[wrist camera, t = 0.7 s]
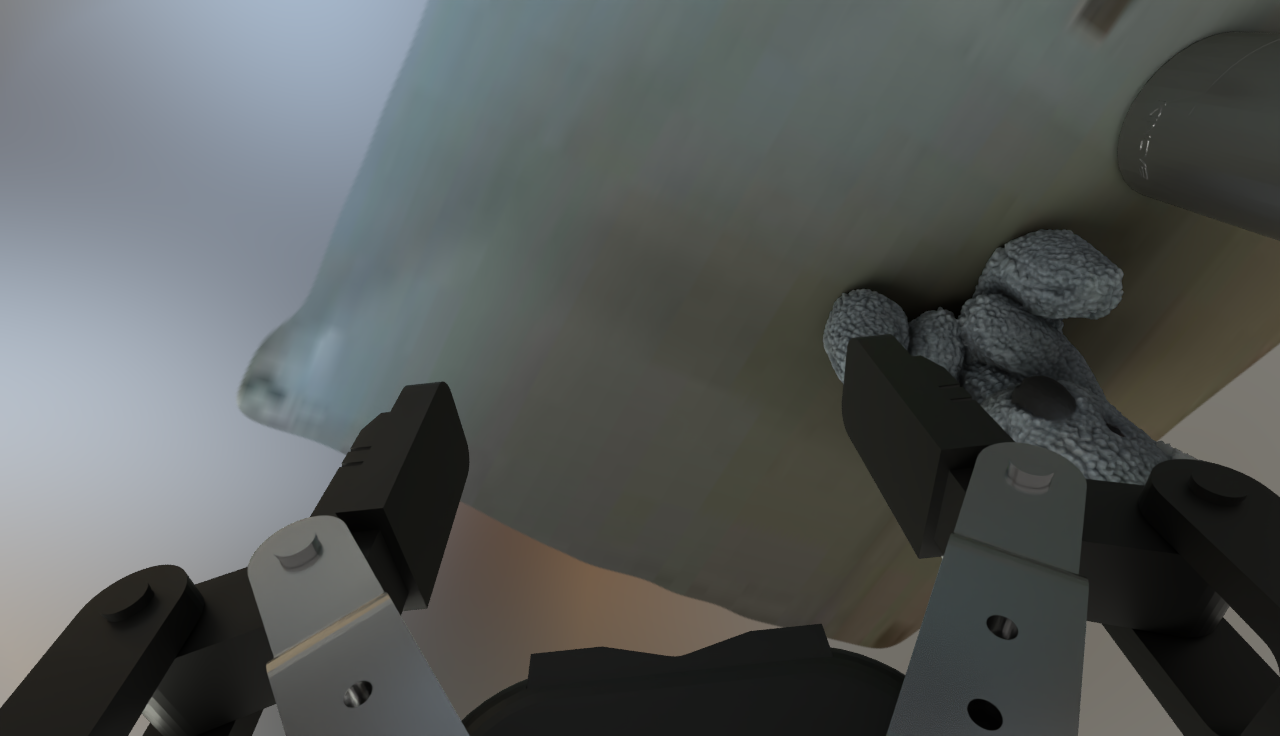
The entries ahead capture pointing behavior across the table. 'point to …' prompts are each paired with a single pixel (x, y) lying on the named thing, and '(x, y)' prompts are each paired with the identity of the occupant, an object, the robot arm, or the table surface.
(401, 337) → the table surface
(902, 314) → the koala plush
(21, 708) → the robot arm
